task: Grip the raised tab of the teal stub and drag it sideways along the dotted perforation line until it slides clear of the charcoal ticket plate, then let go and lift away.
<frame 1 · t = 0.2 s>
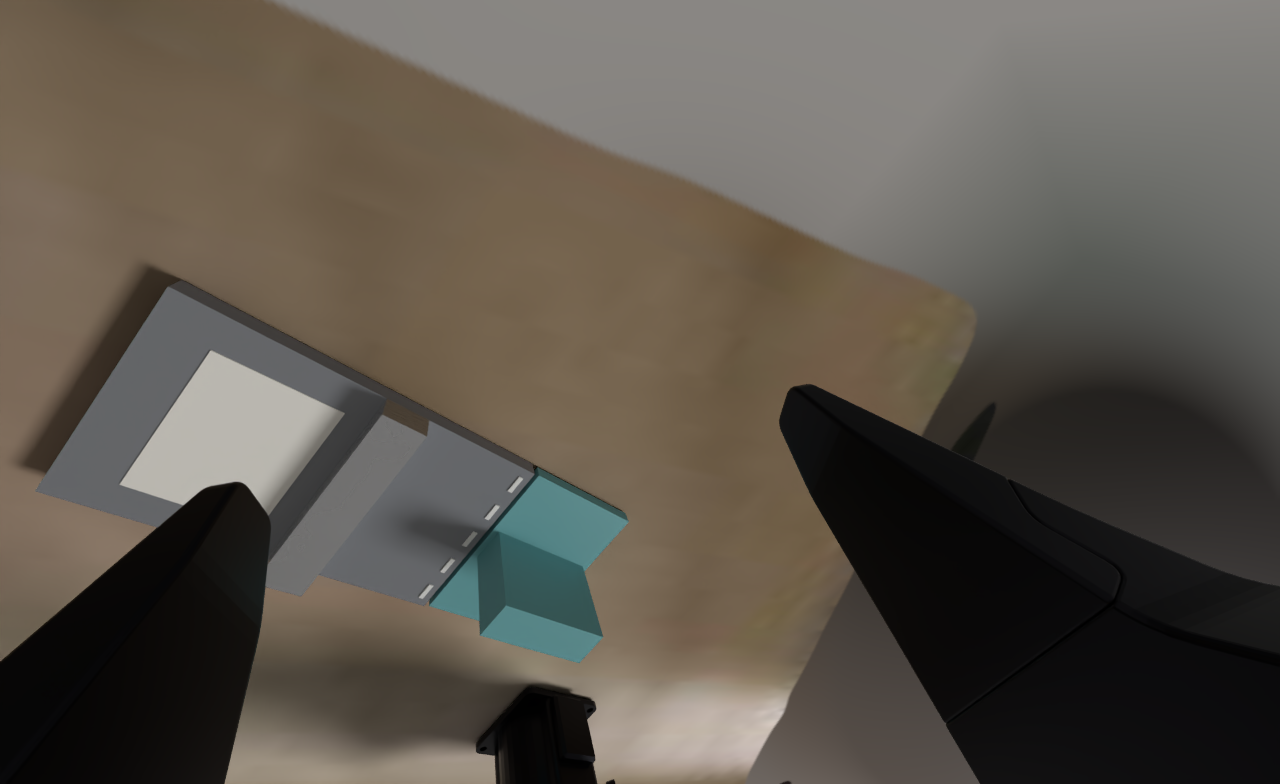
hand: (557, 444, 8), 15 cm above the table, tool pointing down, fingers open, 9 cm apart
ticket plate: (329, 469, 22), on the table
stub: (537, 590, 26), point 3 cm above the table, slide at 0.0 cm
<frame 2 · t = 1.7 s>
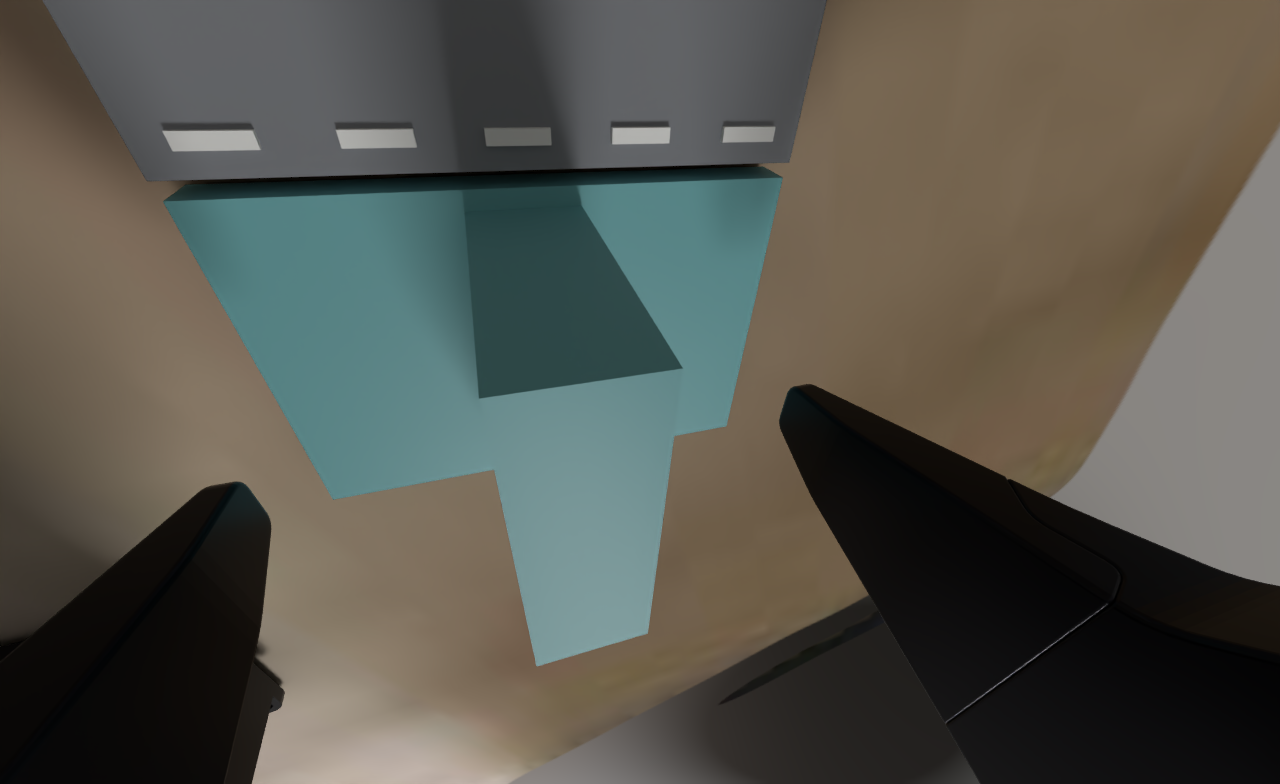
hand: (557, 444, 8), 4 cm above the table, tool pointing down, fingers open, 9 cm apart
stub: (556, 416, 9), point 3 cm above the table, slide at 0.0 cm
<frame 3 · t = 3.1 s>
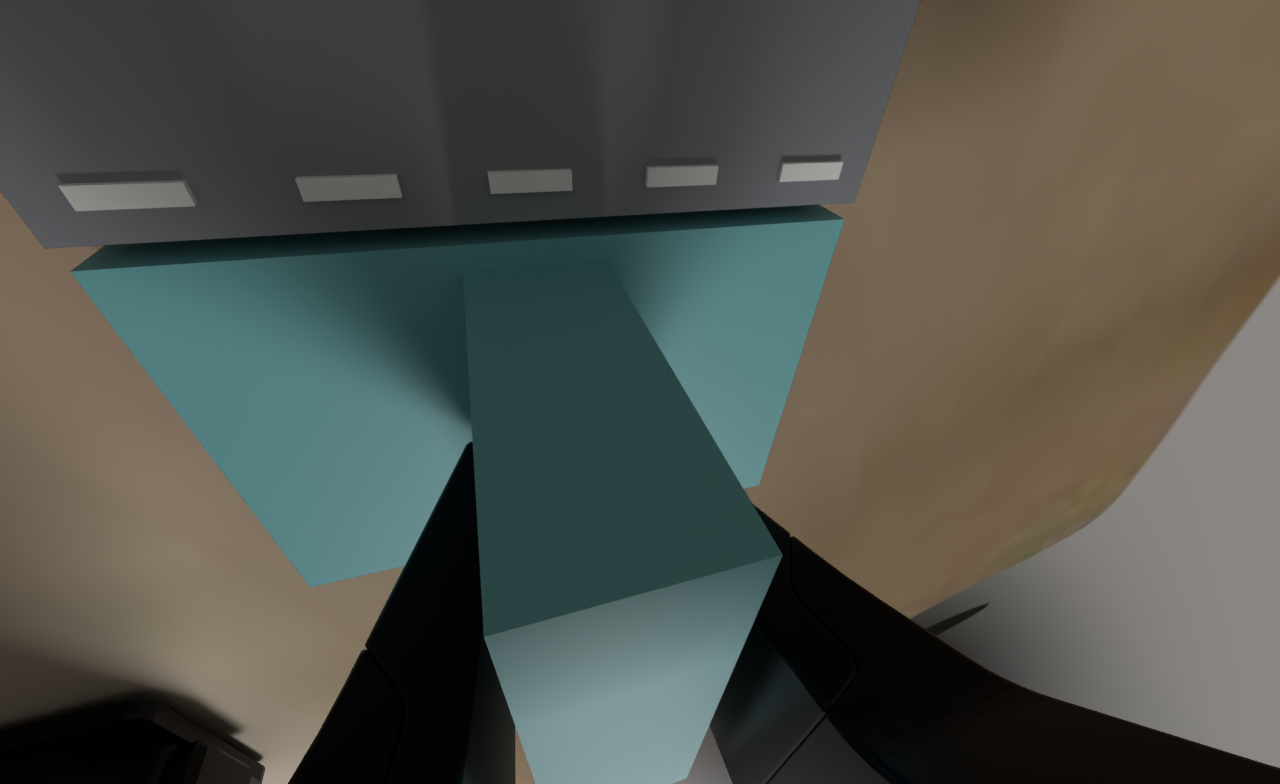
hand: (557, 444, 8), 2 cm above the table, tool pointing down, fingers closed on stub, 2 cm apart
stub: (574, 514, 7), point 3 cm above the table, slide at 0.0 cm, touching gripper
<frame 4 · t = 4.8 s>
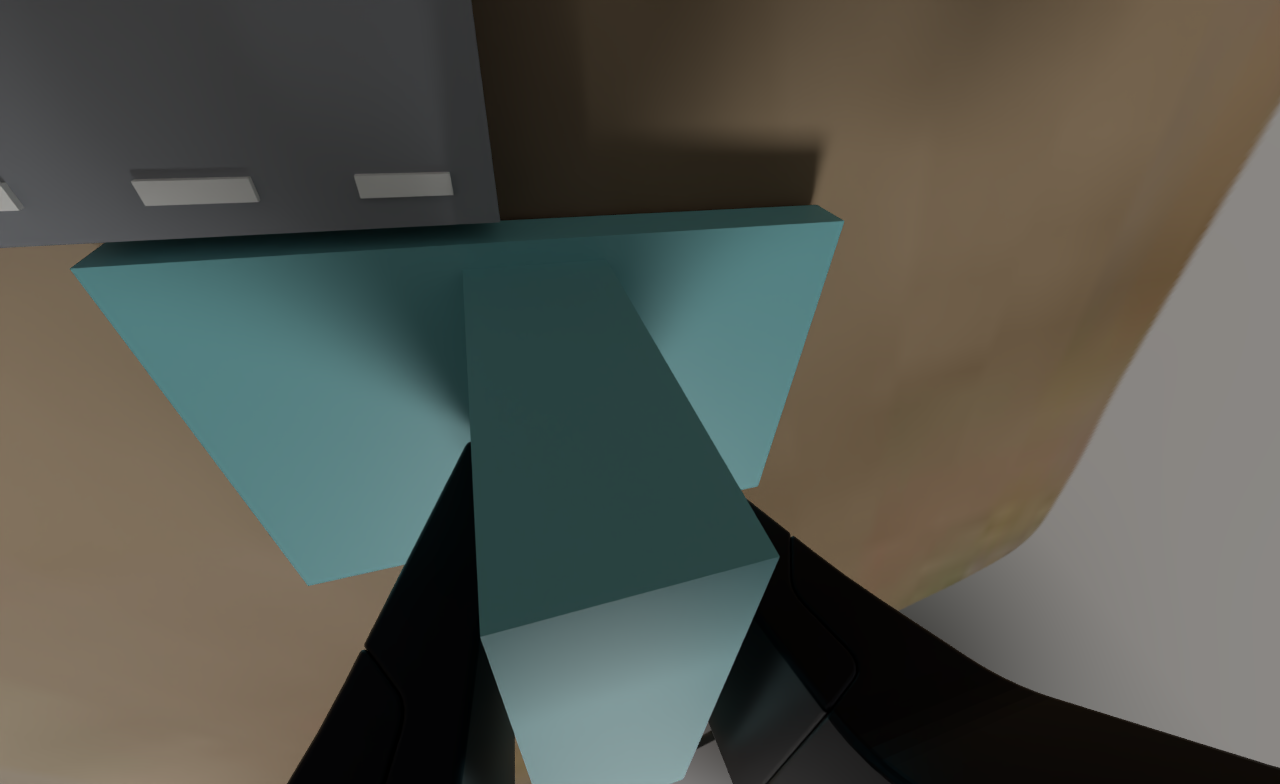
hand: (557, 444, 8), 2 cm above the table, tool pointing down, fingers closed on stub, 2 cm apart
stub: (572, 514, 7), point 3 cm above the table, slide at 5.4 cm, touching gripper
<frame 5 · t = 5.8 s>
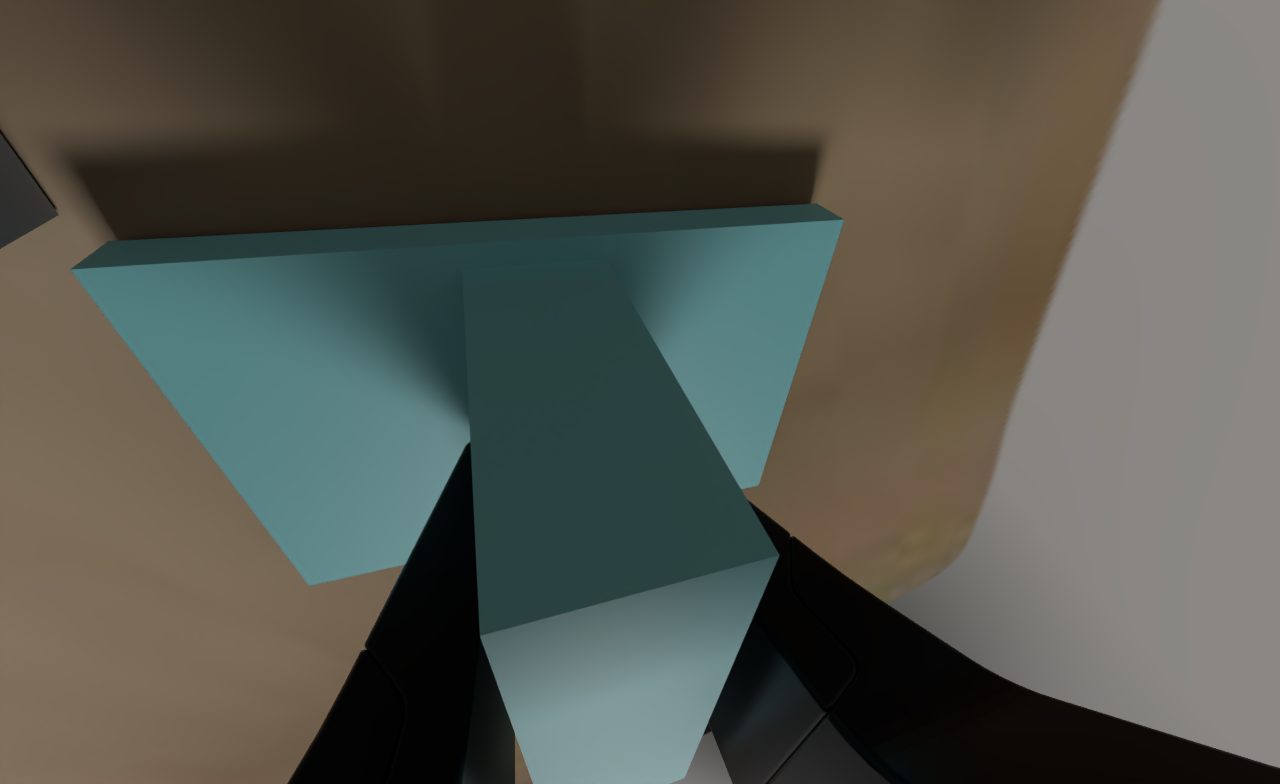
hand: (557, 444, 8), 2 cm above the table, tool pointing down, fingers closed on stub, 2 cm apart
stub: (573, 513, 7), point 3 cm above the table, slide at 10.4 cm, touching gripper
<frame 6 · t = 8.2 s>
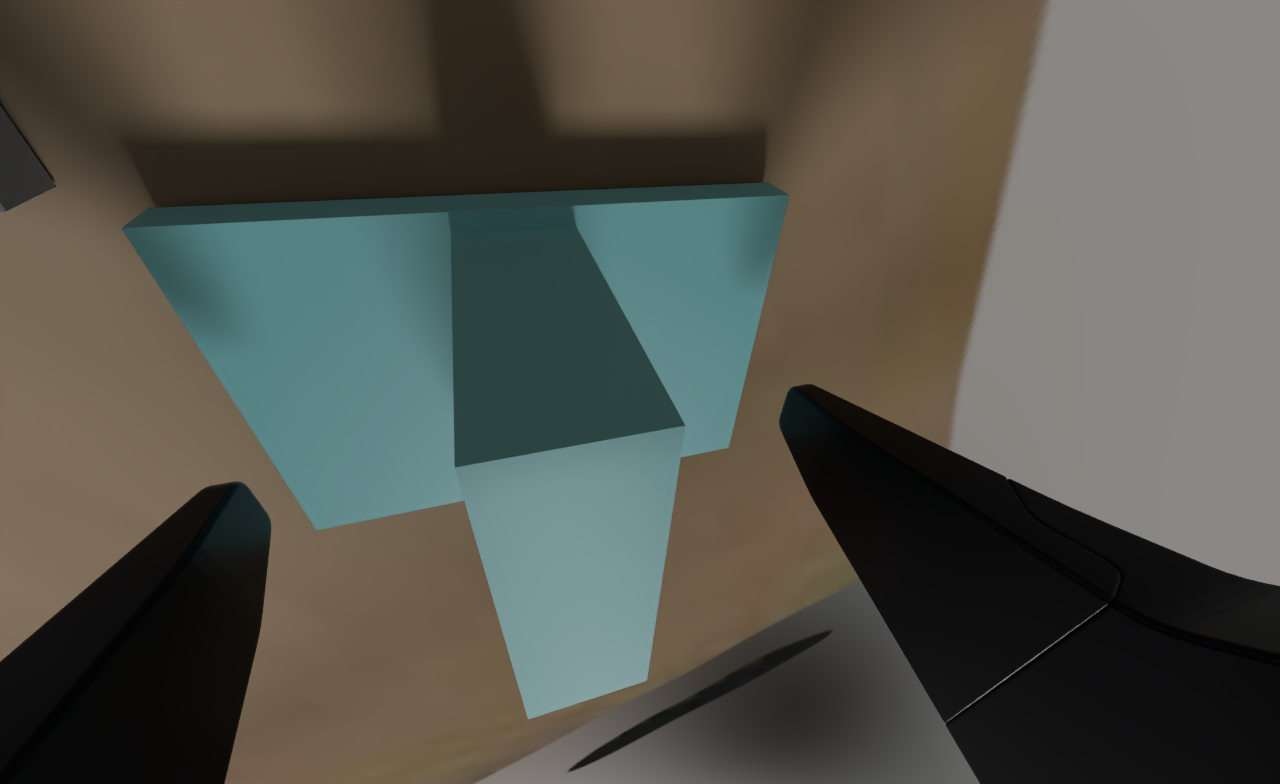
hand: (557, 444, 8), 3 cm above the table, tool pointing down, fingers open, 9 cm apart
stub: (549, 450, 8), point 3 cm above the table, slide at 10.9 cm
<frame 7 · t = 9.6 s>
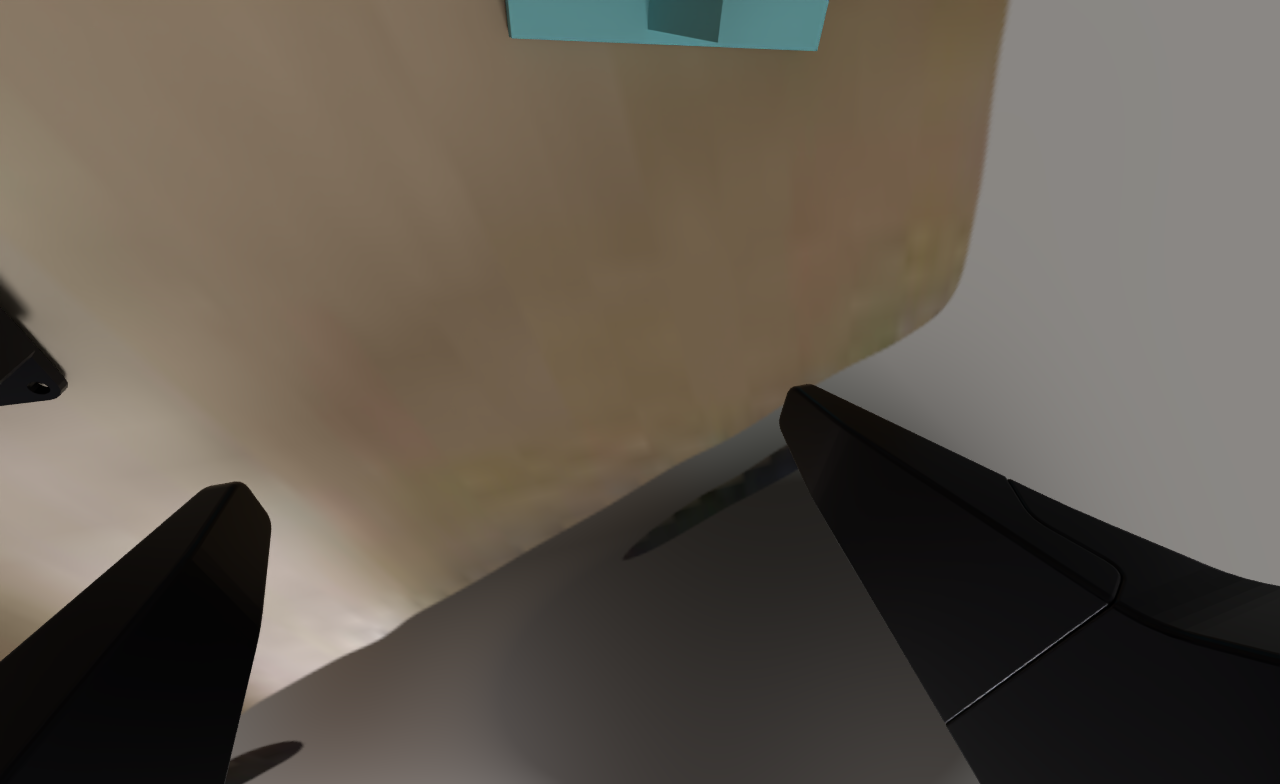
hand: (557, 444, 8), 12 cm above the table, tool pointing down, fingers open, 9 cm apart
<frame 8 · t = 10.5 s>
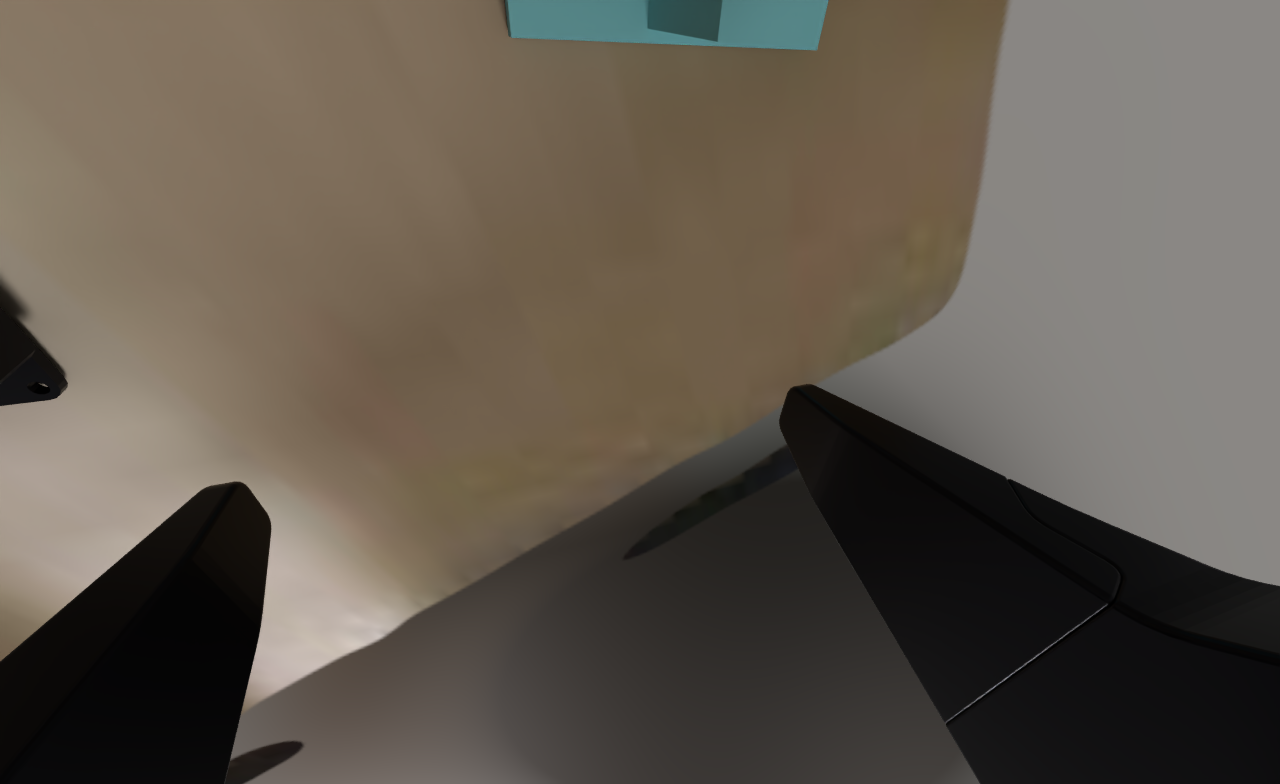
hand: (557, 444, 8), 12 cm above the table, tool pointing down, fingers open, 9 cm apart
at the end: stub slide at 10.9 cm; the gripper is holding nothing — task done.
